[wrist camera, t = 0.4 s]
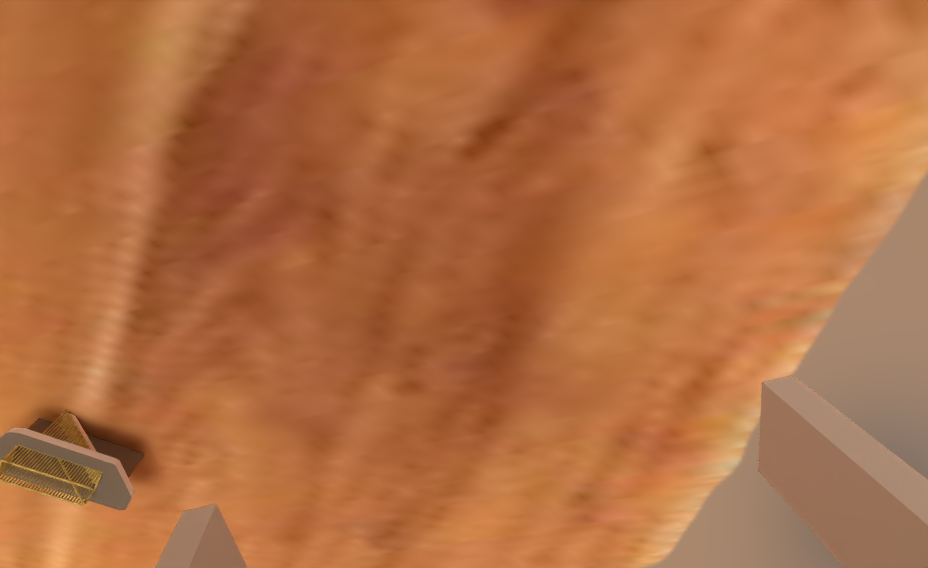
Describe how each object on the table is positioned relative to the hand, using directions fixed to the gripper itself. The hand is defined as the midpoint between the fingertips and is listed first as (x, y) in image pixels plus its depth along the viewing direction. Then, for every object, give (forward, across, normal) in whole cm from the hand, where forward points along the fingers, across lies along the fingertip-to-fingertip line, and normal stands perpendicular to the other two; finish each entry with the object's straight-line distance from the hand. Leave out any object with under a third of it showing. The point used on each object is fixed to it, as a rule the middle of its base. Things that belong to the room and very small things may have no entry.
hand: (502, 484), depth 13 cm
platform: (+28, -30, -12) cm, 43 cm away
